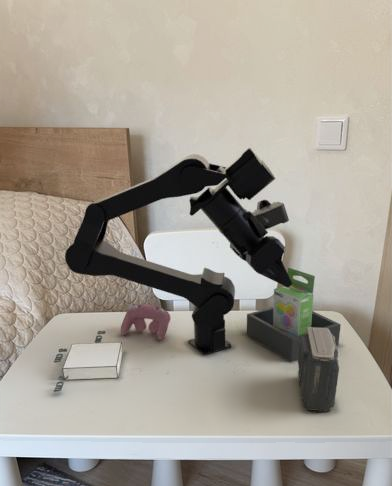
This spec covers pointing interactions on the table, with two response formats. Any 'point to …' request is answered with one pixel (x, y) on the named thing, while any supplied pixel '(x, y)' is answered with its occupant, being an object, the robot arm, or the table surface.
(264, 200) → the robot arm
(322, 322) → the bin
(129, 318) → the video game controller
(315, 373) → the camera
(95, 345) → the container
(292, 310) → the ink box
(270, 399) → the table surface
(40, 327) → the table surface
